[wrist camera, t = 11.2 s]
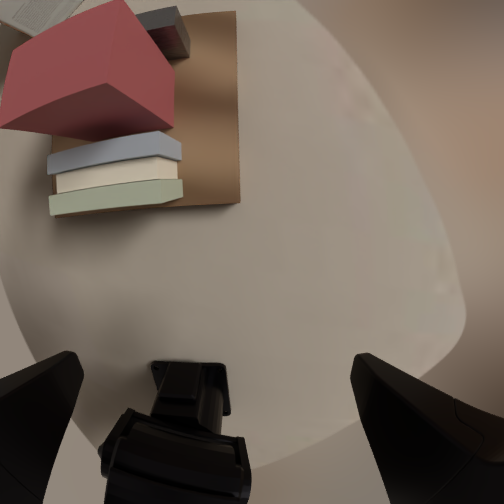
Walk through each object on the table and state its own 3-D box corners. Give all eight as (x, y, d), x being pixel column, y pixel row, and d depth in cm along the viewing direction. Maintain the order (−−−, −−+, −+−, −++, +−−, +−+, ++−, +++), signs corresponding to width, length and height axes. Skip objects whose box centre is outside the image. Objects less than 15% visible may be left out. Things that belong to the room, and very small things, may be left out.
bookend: (189, 57, 14) (174, 25, 9) (85, 81, 14) (50, 63, 9) (190, 40, 13) (176, 5, 9) (87, 64, 13) (55, 44, 9)
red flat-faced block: (173, 127, 15) (106, 82, 6) (92, 141, 15) (-3, 128, 6) (174, 71, 14) (121, -3, 5) (95, 89, 14) (12, 50, 5)
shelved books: (183, 196, 16) (161, 203, 12) (89, 206, 16) (50, 215, 12) (181, 142, 15) (159, 131, 11) (86, 158, 15) (47, 155, 11)
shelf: (240, 201, 18) (240, 202, 16) (65, 215, 18) (55, 218, 16) (236, 21, 14) (235, 11, 13) (72, 56, 14) (63, 51, 13)
